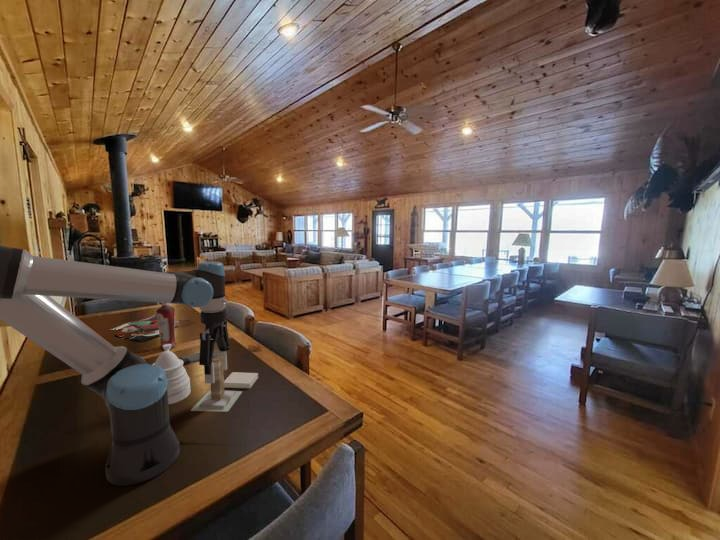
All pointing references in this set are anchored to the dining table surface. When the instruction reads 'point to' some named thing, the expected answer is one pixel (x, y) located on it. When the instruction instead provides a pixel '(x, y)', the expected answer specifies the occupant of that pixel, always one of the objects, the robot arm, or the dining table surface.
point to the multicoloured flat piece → (141, 329)
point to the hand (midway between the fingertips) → (216, 375)
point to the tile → (240, 380)
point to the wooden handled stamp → (217, 388)
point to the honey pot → (174, 375)
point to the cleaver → (195, 357)
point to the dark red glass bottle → (166, 324)
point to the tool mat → (226, 409)
